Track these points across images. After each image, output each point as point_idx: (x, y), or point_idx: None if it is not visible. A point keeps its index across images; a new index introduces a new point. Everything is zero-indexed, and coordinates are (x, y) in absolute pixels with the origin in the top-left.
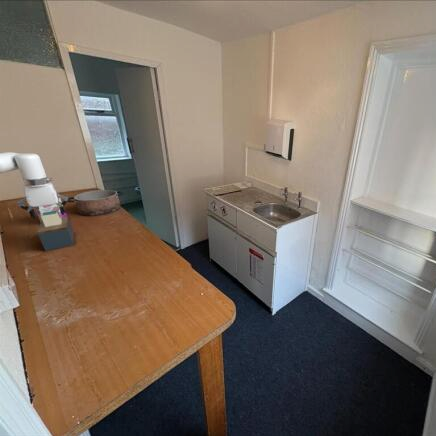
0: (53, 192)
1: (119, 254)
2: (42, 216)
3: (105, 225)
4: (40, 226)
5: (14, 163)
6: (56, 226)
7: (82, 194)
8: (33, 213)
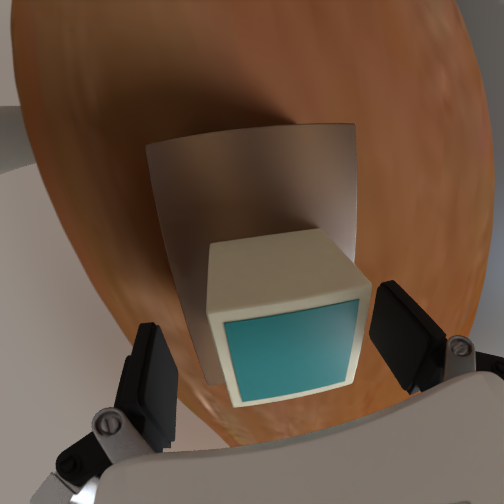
0: None
1: (396, 379)
2: (244, 404)
3: (423, 106)
4: (188, 306)
5: None
6: None
7: None
8: (173, 420)
